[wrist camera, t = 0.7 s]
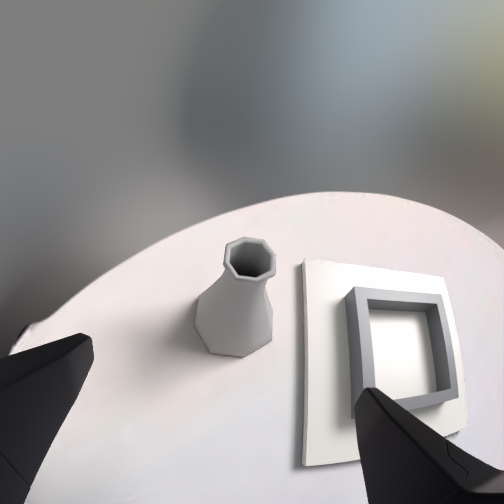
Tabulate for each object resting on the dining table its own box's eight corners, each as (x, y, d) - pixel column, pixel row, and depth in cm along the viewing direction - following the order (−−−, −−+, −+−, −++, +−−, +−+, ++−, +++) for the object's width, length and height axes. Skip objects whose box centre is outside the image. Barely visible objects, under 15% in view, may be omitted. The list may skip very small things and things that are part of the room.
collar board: (461, 428, 19) (480, 424, 17) (301, 464, 17) (315, 469, 15) (438, 280, 31) (452, 268, 28) (301, 263, 29) (311, 245, 26)
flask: (202, 365, 21) (199, 327, 13) (187, 290, 25) (181, 218, 17) (283, 348, 23) (327, 301, 15) (261, 278, 27) (286, 207, 19)
